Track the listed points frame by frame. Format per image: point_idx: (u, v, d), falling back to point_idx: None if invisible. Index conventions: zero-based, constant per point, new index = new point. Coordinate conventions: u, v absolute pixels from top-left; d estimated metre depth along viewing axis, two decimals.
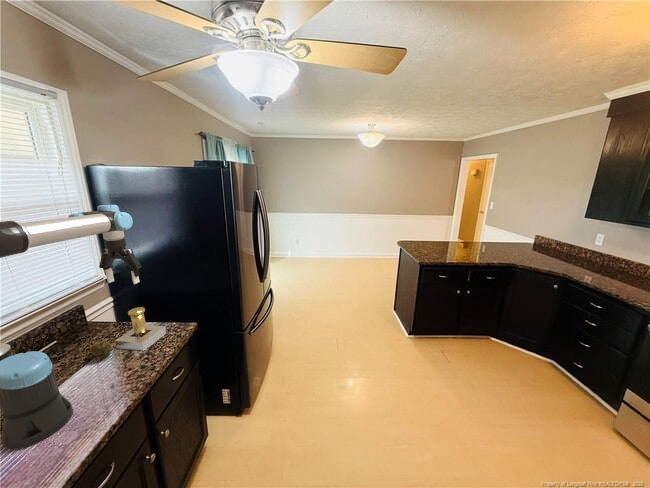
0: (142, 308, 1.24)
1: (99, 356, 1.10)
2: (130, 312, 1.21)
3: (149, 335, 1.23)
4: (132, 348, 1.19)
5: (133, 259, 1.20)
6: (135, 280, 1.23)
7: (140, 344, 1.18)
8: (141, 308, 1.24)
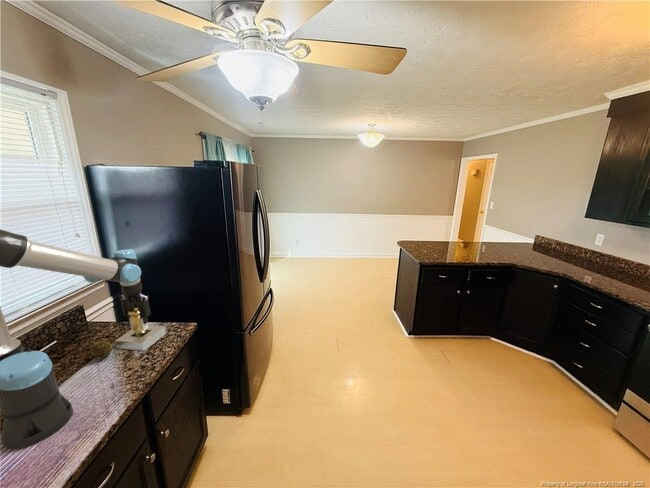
0: None
1: (99, 356, 1.10)
2: (130, 312, 1.21)
3: (149, 335, 1.23)
4: (132, 348, 1.19)
5: (146, 307, 1.21)
6: (144, 327, 1.23)
7: (140, 344, 1.18)
8: None
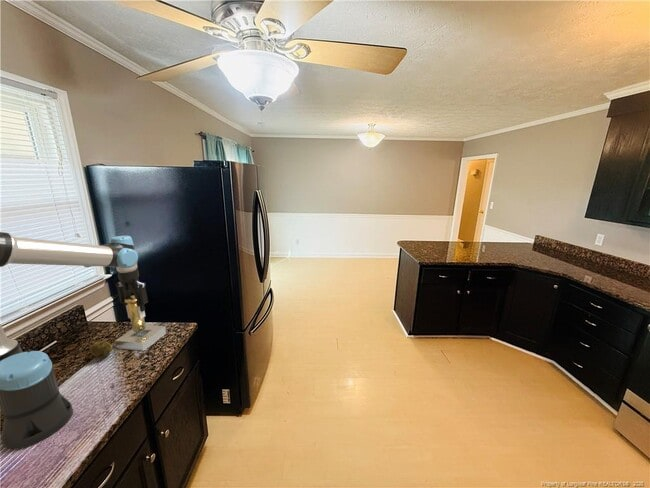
0: None
1: (99, 356, 1.10)
2: (127, 299, 1.19)
3: (149, 335, 1.23)
4: (132, 348, 1.19)
5: (143, 294, 1.19)
6: (141, 315, 1.22)
7: (140, 344, 1.18)
8: None
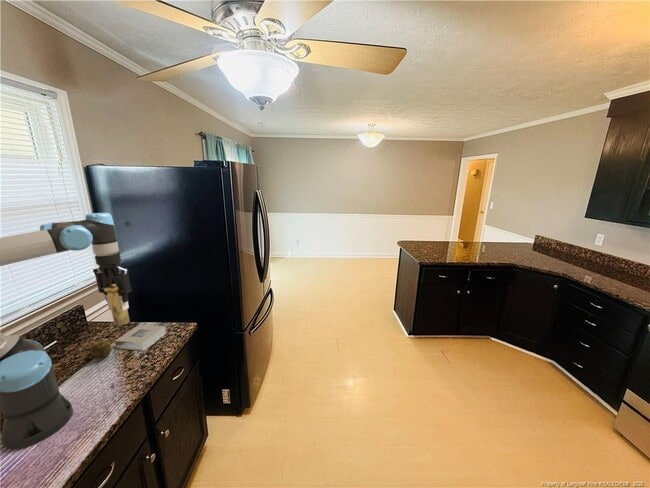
0: None
1: (99, 356, 1.10)
2: (107, 288, 1.02)
3: (149, 335, 1.23)
4: (132, 348, 1.19)
5: (125, 282, 1.02)
6: (124, 306, 1.05)
7: (140, 344, 1.18)
8: None
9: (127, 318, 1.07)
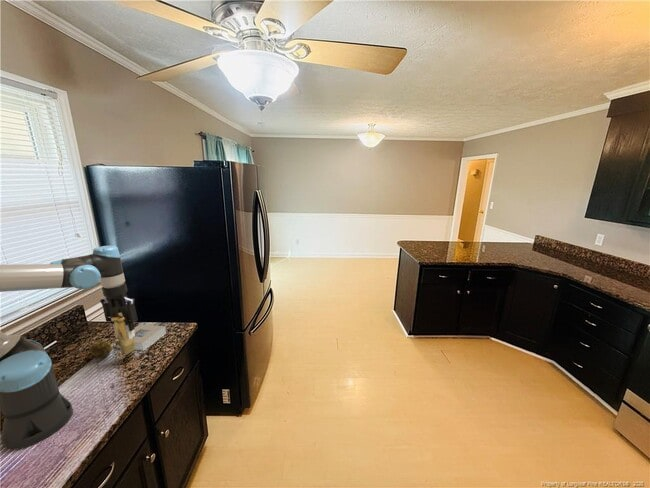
0: None
1: (98, 356, 1.10)
2: (114, 318, 1.05)
3: (149, 335, 1.23)
4: None
5: (131, 312, 1.05)
6: (130, 335, 1.08)
7: (140, 344, 1.18)
8: None
9: (133, 345, 1.10)
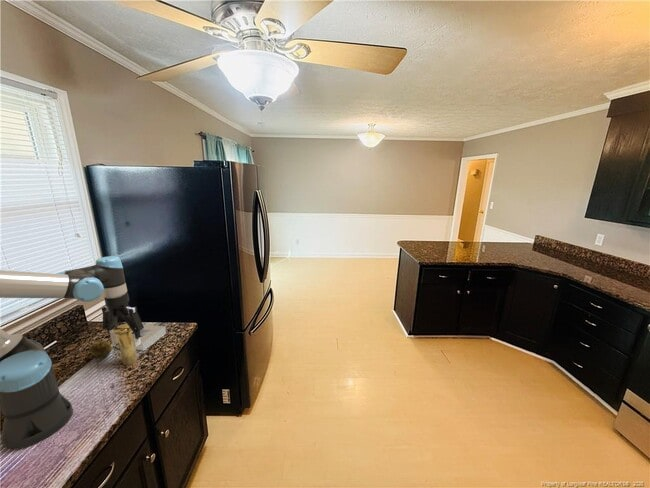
0: None
1: (98, 356, 1.10)
2: (116, 330, 1.06)
3: (149, 335, 1.23)
4: None
5: (136, 320, 1.06)
6: (136, 342, 1.08)
7: (140, 344, 1.18)
8: None
9: (135, 357, 1.12)
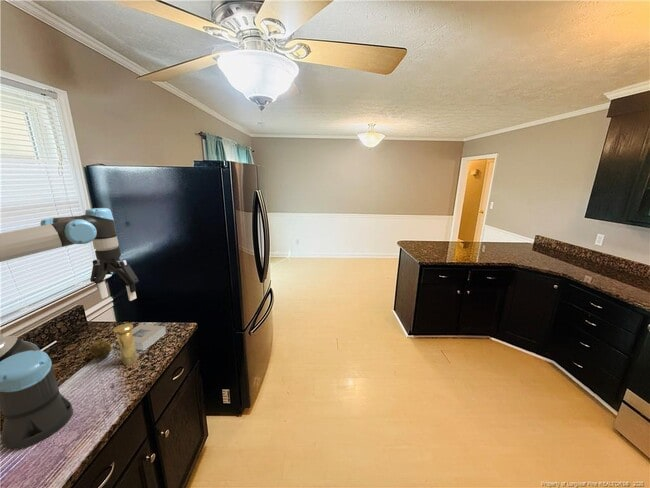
0: (130, 325, 1.10)
1: (98, 356, 1.10)
2: (116, 330, 1.06)
3: (149, 335, 1.23)
4: None
5: (128, 272, 1.02)
6: (131, 296, 1.05)
7: (140, 344, 1.18)
8: (129, 325, 1.10)
9: (135, 357, 1.12)
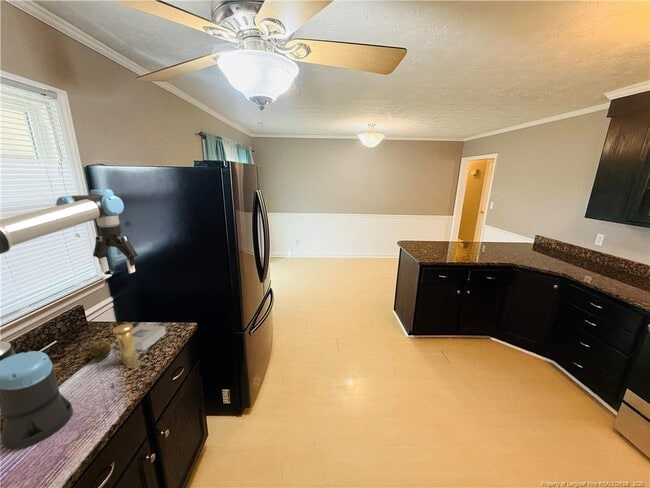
0: (129, 325, 1.10)
1: (98, 356, 1.10)
2: (116, 330, 1.06)
3: (149, 335, 1.23)
4: None
5: (128, 247, 1.14)
6: (131, 269, 1.17)
7: (140, 344, 1.18)
8: (128, 325, 1.10)
9: (135, 357, 1.12)
